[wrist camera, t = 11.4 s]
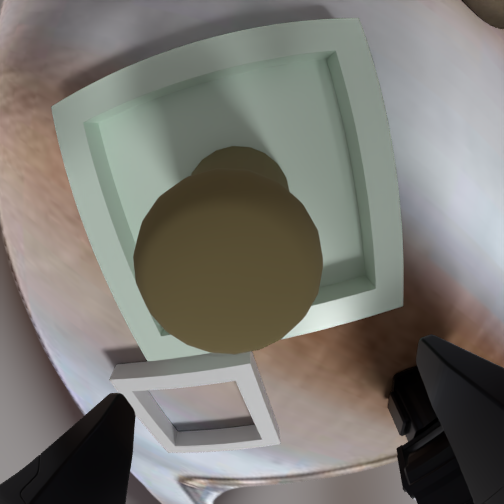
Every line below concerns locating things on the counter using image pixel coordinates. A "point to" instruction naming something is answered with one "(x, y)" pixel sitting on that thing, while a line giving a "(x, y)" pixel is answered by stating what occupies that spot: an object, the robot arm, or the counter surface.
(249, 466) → the counter surface
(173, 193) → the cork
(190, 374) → the collar block
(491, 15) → the pillar candle
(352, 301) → the tray
